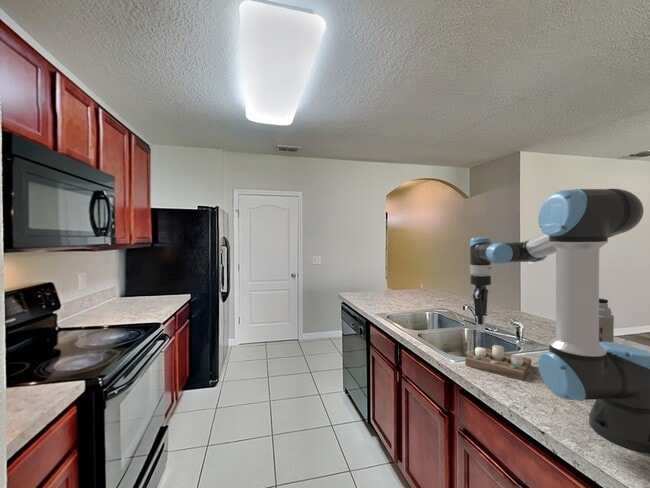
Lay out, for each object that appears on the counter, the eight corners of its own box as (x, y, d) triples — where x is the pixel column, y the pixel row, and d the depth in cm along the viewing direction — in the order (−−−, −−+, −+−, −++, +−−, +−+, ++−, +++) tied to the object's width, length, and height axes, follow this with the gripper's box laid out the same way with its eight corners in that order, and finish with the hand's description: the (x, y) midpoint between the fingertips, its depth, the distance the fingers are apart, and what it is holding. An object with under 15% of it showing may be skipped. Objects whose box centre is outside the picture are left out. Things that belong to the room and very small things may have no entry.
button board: (523, 380, 111) (523, 371, 110) (465, 365, 124) (465, 357, 124) (531, 365, 122) (531, 357, 122) (477, 353, 136) (477, 346, 136)
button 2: (502, 362, 120) (502, 349, 120) (491, 359, 123) (491, 347, 123) (504, 359, 123) (504, 346, 123) (493, 356, 126) (493, 344, 126)
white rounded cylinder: (484, 363, 125) (484, 351, 125) (474, 361, 128) (473, 349, 127) (487, 360, 128) (487, 348, 128) (477, 358, 130) (476, 346, 130)
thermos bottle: (605, 379, 110) (605, 302, 109) (579, 370, 117) (580, 298, 116) (618, 375, 112) (618, 300, 111) (592, 366, 120) (593, 296, 119)
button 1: (521, 373, 116) (521, 360, 116) (509, 369, 119) (509, 357, 119) (523, 369, 119) (523, 356, 119) (512, 366, 122) (512, 354, 122)
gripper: (486, 277, 119) (486, 337, 120) (494, 273, 129) (495, 329, 129) (465, 276, 124) (466, 333, 125) (475, 272, 134) (476, 326, 134)
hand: (481, 331), depth 127 cm, fingers closed
